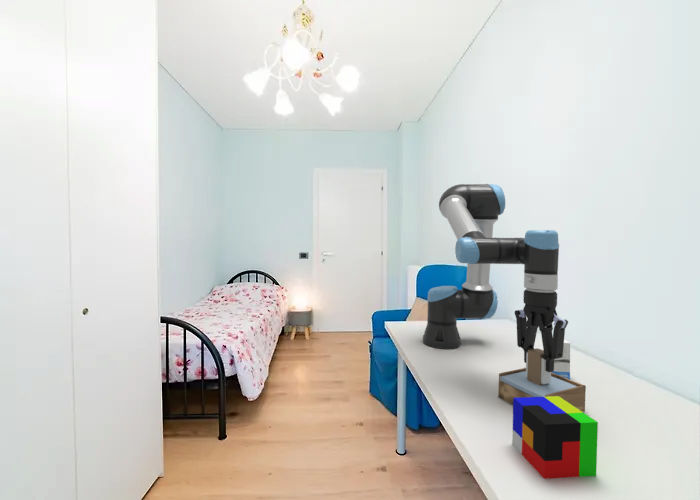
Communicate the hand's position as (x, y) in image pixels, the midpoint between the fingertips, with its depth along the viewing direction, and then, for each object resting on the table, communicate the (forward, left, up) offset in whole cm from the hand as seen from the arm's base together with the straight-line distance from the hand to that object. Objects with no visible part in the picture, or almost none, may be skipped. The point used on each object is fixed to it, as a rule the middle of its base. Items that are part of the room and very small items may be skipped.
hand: (538, 379), depth 86 cm
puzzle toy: (+16, -17, -7) cm, 24 cm away
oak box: (0, +1, -7) cm, 7 cm away
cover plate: (0, 0, -2) cm, 2 cm away
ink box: (-11, +23, -7) cm, 26 cm away
